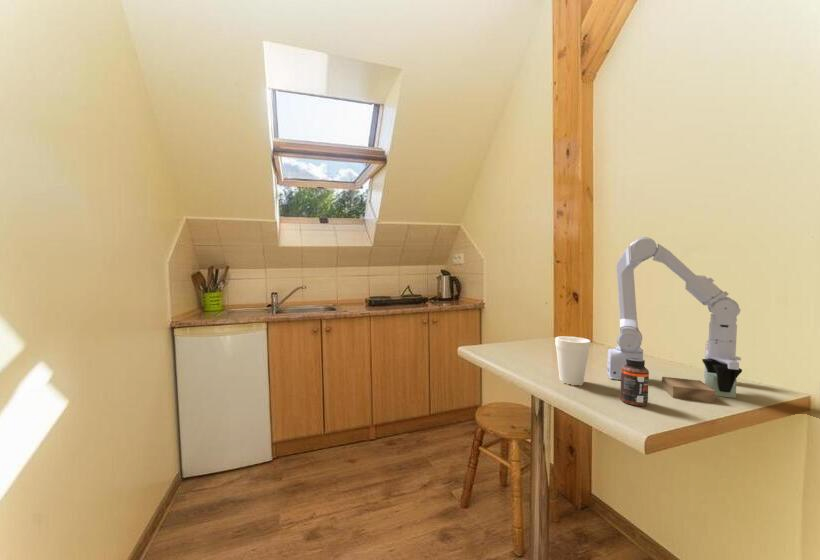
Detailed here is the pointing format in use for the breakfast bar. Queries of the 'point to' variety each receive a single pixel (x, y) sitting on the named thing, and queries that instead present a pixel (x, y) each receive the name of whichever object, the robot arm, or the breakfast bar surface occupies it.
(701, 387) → the walnut block
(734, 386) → the grey-green cube
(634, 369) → the supplement bottle
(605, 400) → the breakfast bar surface
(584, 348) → the foam cup
